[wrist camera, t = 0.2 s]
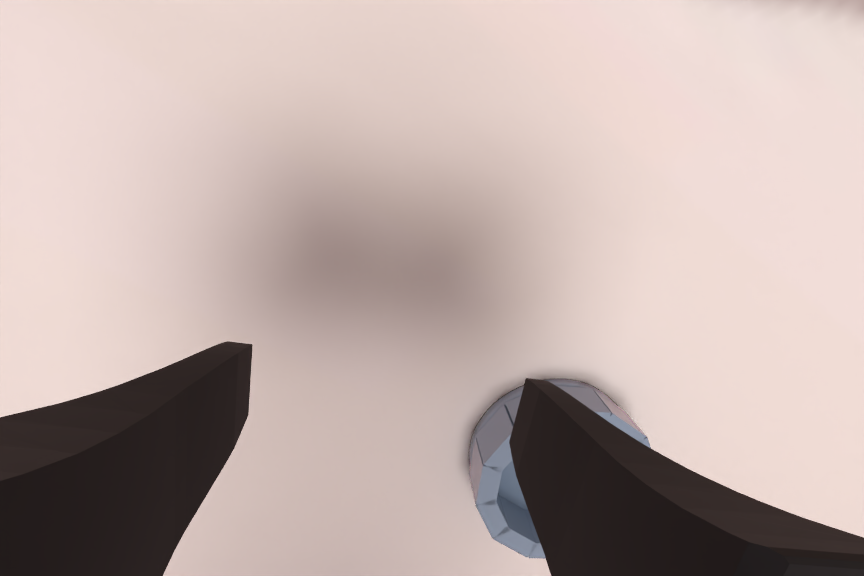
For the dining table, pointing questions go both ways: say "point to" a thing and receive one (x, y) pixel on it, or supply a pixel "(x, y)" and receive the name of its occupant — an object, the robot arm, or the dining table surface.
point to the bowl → (496, 470)
